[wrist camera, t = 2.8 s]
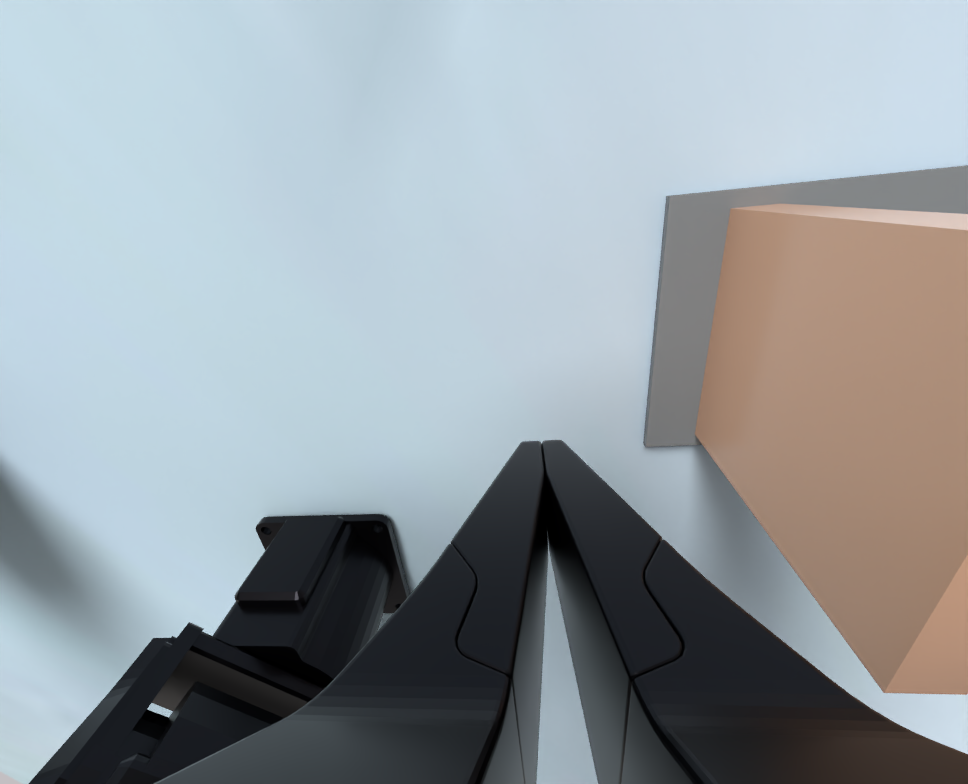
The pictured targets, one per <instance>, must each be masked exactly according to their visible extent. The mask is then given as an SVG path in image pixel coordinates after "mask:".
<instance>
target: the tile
mask: <svg viewBox="0 0 968 784" xmlns="http://www.w3.org/2000/svg"><path fill="white" fill-rule="evenodd" d="M695 435H696V437H697V438H698V439H699V441H700V442H701V443H702V445H703V446H704V448H705V449H706V450H707V452H708V453H709V454H710V456H711V457H712V458H713V460H714V461H715V463H716V464H717V465H718V467H719V468H720V469H721V471H722V472H723V474H724V475H725V476H726V478H727V479H728V480H729V482H730V483H731V484H732V486H733V487H734V489H735V490H736V491H737V493H738V494H739V495H740V497H741V498H742V500H743V501H744V502H745V504H746V505H747V506H748V508H749V509H750V510H751V512H752V513H753V515H754V516H755V517H756V519H757V520H758V521H759V523H760V524H761V526H762V527H763V528H764V530H765V531H766V532H767V534H768V535H769V536H770V538H771V539H772V541H773V542H774V543H775V545H776V546H777V547H778V549H779V550H780V552H781V553H782V554H783V556H784V557H785V558H786V560H787V561H788V562H789V564H790V565H791V567H792V568H793V569H794V571H795V572H796V573H797V575H798V576H799V577H800V579H801V580H802V582H803V583H804V584H805V586H806V587H807V588H808V590H809V591H810V593H811V594H812V595H813V597H814V598H815V599H816V601H817V602H818V603H819V605H820V606H821V608H822V609H823V610H824V612H825V613H826V614H827V616H828V617H829V619H830V620H831V621H832V623H833V624H834V625H835V627H836V628H837V629H838V631H839V632H840V634H841V635H842V636H843V638H844V639H845V640H846V642H847V643H848V645H849V646H850V647H851V649H852V650H853V651H854V653H855V654H856V655H857V657H858V658H859V660H860V661H861V662H862V664H863V665H864V666H865V668H866V669H867V670H868V672H869V673H870V675H871V676H872V677H873V679H874V680H875V681H876V683H877V684H878V686H879V687H880V688H881V690H882V691H883V692H884V693H917V694H966V695H967V694H968V214H957V213H939V212H921V211H904V210H886V209H868V208H850V207H833V206H815V205H797V204H771V205H761V206H750V207H740V208H731V209H730V216H729V222H728V228H727V235H726V241H725V247H724V253H723V260H722V266H721V272H720V279H719V285H718V291H717V297H716V304H715V310H714V316H713V323H712V329H711V335H710V342H709V348H708V354H707V360H706V367H705V373H704V379H703V386H702V392H701V398H700V405H699V411H698V417H697V423H696V430H695Z"/></svg>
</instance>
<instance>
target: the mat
mask: <svg viewBox="0 0 968 784" xmlns="http://www.w3.org/2000/svg"><path fill="white" fill-rule="evenodd" d="M771 204H797V205H815V206H833V207H850V208H868V209H886V210H904V211H921V212H939V213H957V214H968V166H958V167H948V168H938V169H928V170H918V171H909V172H899V173H889V174H879V175H869V176H859V177H850V178H840V179H830V180H820V181H810V182H801V183H791V184H781V185H771V186H761V187H751V188H742V189H732V190H722V191H712V192H702V193H692V194H683V195H673V196H667V197H666V207H665V218H664V229H663V239H662V250H661V261H660V271H659V282H658V293H657V303H656V314H655V325H654V336H653V346H652V357H651V368H650V378H649V389H648V400H647V410H646V421H645V432H644V442H643V443H644V445H645V447H656V446H681V445H702V443H701V442H700V441H699V439H698V438H697V437H696V435H695V430H696V423H697V417H698V411H699V405H700V398H701V392H702V386H703V379H704V373H705V367H706V360H707V354H708V348H709V342H710V335H711V329H712V323H713V316H714V310H715V304H716V297H717V291H718V285H719V279H720V272H721V266H722V260H723V253H724V247H725V241H726V235H727V228H728V222H729V216H730V209H731V208H740V207H750V206H761V205H771Z"/></svg>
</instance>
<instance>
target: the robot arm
mask: <svg viewBox="0 0 968 784" xmlns="http://www.w3.org/2000/svg"><path fill="white" fill-rule="evenodd" d="M376 524H377V525H376ZM378 525H380V526H378ZM256 531H257V533H258V536H259V538H260V540H261V542H262V544H263V546H264V548H265V552H264V553H263V555H262V556H261V558H260V559H259V561H258V562H257V564H256V565H255V566H254V568H253V569H252V571H251V572H250V574H249V575H248V577H247V578H246V579H245V581H244V582H243V584H242V585H241V587H240V588H239V590H238V591H237V593H236V594H235V600H236V602H235V604H234V605H233V607H232V608H231V610H230V611H229V612H228V614H227V615H226V617H225V618H224V620H223V621H222V623H221V624H220V626H219V627H218V629H217V630H216V632H215V633H214V635H213V636H211V635H208V634H206V633H204V632H202V630H203V628H201V627H199V626H197V625H194V624H192V623H190V622H189V623H188V624H187V626H186V627H185V628H184V630H183V631H182V632H181V633H180V635H179V636H178V637H177V638H175V637H173V636H172V638H153V639H152V640H151V642H150V643H149V644H148V645H147V647H146V648H145V649H144V650H143V652H142V653H141V654H140V655H139V657H138V658H137V659H136V660H135V662H134V663H133V664H132V665H131V667H130V668H129V669H128V670H127V672H126V673H125V674H124V675H123V676H122V678H121V679H120V680H119V681H118V683H117V684H116V685H115V686H114V687H113V689H112V690H111V691H110V692H109V693H108V694H107V696H106V697H105V698H104V699H103V700H102V701H101V702H100V704H99V705H98V706H97V707H96V708H95V709H94V710H93V711H92V713H91V714H90V715H89V716H88V717H87V718H86V719H85V720H84V722H83V723H82V724H81V725H80V726H79V727H78V728H77V730H76V731H75V732H74V733H73V734H72V735H71V736H70V737H69V739H68V740H67V741H66V742H65V743H64V744H63V745H62V746H61V748H60V749H59V750H58V751H57V752H56V753H55V754H54V755H53V757H52V758H51V759H50V760H49V761H48V762H47V763H46V765H45V766H44V767H43V768H42V769H41V770H40V771H39V772H38V774H37V775H36V776H35V777H34V778H33V779H32V780H31V782H30V783H29V784H536V780H537V760H538V741H539V722H540V703H541V683H542V664H543V645H544V625H545V606H546V587H547V568H548V543H549V551H550V556H551V562H552V566H553V571H554V576H555V581H556V585H557V590H558V595H559V600H560V604H561V609H562V614H563V618H564V623H565V628H566V633H567V637H568V642H569V647H570V652H571V656H572V661H573V666H574V671H575V675H576V680H577V685H578V690H579V694H580V699H581V704H582V709H583V713H584V718H585V723H586V728H587V732H588V737H589V742H590V747H591V751H592V756H593V761H594V766H595V770H596V775H597V780H598V784H968V754H965V753H963V752H960V751H958V750H955V749H953V748H950V747H948V746H945V745H943V744H940V743H938V742H935V741H933V740H930V739H928V738H926V737H923V736H921V735H919V734H916V733H914V732H912V731H910V730H908V729H906V728H904V727H902V726H900V725H898V724H896V723H894V722H893V721H891V720H889V719H888V718H886V717H884V716H883V715H881V714H879V713H878V712H876V711H874V710H873V709H871V708H870V707H868V706H867V705H865V704H864V703H862V702H861V701H859V700H858V699H856V698H855V697H853V696H852V695H850V694H849V693H848V692H846V691H845V690H844V689H842V688H841V687H840V686H838V685H837V684H836V683H835V682H833V681H832V680H831V679H829V678H828V677H827V676H826V675H824V674H823V673H822V672H821V671H819V670H818V669H817V668H816V667H814V666H813V665H812V664H811V663H809V662H808V661H807V660H806V659H804V658H803V657H802V656H801V655H799V654H798V653H797V652H796V651H794V650H793V649H792V648H791V647H789V646H788V645H787V644H786V643H784V642H783V641H782V640H781V639H779V638H778V637H777V636H776V635H774V634H773V633H772V632H771V631H769V630H768V629H767V628H766V627H764V626H763V625H762V624H761V623H760V622H758V621H757V620H756V619H755V618H753V617H752V616H751V615H750V614H748V613H747V612H746V611H745V610H743V609H742V608H741V607H740V606H738V605H737V604H736V603H735V602H734V601H732V600H731V599H730V598H729V597H728V596H726V595H725V594H724V593H723V592H722V591H720V590H719V589H718V588H717V587H716V586H714V585H713V584H712V583H711V582H710V581H708V580H707V579H706V578H705V577H704V576H703V575H702V574H701V573H699V572H698V571H697V570H696V569H695V568H694V567H693V566H692V565H691V564H690V563H689V562H688V561H686V560H685V559H684V558H683V557H682V556H681V555H680V554H679V553H678V552H677V551H676V550H675V549H674V548H673V547H672V546H671V545H670V544H669V543H668V542H667V541H665V540H662V537H661V536H660V535H659V534H658V533H657V532H656V531H655V530H654V529H653V528H652V527H651V526H650V525H649V524H648V523H647V522H646V521H645V520H644V519H643V518H642V517H641V516H639V515H638V514H637V513H636V512H635V511H634V510H633V509H632V508H631V507H630V506H629V505H628V504H627V503H626V502H625V501H624V500H623V499H622V498H621V497H620V496H619V495H618V494H617V493H616V492H615V491H614V490H613V489H612V488H611V487H610V486H609V485H608V484H607V483H605V482H604V481H603V480H602V479H601V478H600V477H599V476H598V475H597V474H596V473H595V472H594V471H593V470H592V469H591V468H590V467H589V466H588V465H587V464H586V463H585V462H584V461H583V460H582V459H581V458H580V457H579V456H578V455H577V454H576V453H575V452H574V451H573V450H571V449H570V448H569V447H568V446H567V445H566V444H565V443H564V442H563V441H562V440H547V441H543V442H542V444H541V442H539V441H525V442H521V443H520V445H519V446H518V447H517V449H516V450H515V452H514V453H513V454H512V456H511V457H510V459H509V460H508V462H507V463H506V464H505V466H504V467H503V469H502V470H501V471H500V473H499V474H498V476H497V477H496V479H495V480H494V481H493V483H492V484H491V486H490V487H489V488H488V490H487V491H486V493H485V494H484V496H483V497H482V498H481V500H480V501H479V503H478V504H477V505H476V507H475V508H474V510H473V511H472V512H471V514H470V515H469V517H468V518H467V520H466V521H465V522H464V524H463V525H462V527H461V528H460V529H459V531H458V532H457V534H456V535H455V537H454V538H453V539H452V541H451V544H449V545H448V546H447V547H446V549H445V550H444V552H443V553H442V555H441V556H440V557H439V559H438V560H437V562H436V563H435V564H434V565H433V567H432V568H431V569H430V571H429V572H428V573H427V575H426V576H425V577H424V579H423V580H422V581H421V582H420V584H419V585H418V586H417V587H416V588H415V589H414V591H413V592H412V593H411V594H410V593H409V590H408V586H407V582H406V578H405V575H404V571H403V567H402V563H401V559H400V556H399V552H398V548H397V544H396V541H395V537H394V533H393V529H392V525H391V522H390V520H389V519H388V518H387V517H386V516H384V515H381V514H364V515H324V516H283V517H264V518H263V519H261V521H260V522H259V523H258V524H257V526H256ZM547 533H548V534H547ZM383 613H394V614H393V615H392V616H391V617H390V618H389V619H388V620H387V621H386V623H385V624H384V625H383V626H382V627H381V628H380V629H379V630H378V627H379V624H380V621H381V618H382V614H383ZM377 630H378V631H377ZM151 703H154V704H157V705H159V706H162V707H164V708H167V709H169V710H172V711H173V713H172V714H171V715H170V717H169V718H168V717H165V716H163V715H160V714H157V713H154V712H152V711H149V710H147V708H148V707H149V705H150V704H151Z"/></svg>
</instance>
